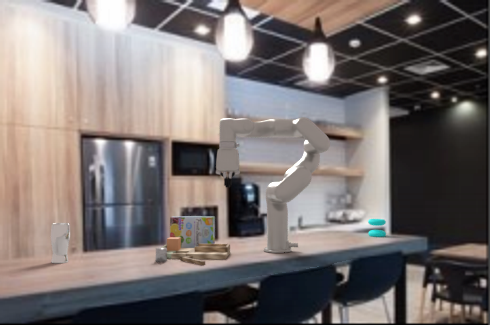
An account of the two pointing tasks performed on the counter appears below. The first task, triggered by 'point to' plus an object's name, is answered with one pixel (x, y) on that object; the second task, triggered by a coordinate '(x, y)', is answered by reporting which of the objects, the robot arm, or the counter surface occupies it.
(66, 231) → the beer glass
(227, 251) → the wooden tray
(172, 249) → the cube
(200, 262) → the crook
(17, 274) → the counter surface
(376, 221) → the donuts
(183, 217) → the snack box
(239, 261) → the counter surface
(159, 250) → the can
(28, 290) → the counter surface
